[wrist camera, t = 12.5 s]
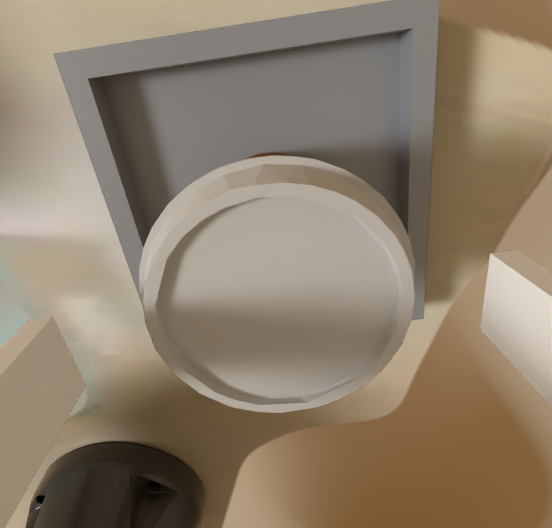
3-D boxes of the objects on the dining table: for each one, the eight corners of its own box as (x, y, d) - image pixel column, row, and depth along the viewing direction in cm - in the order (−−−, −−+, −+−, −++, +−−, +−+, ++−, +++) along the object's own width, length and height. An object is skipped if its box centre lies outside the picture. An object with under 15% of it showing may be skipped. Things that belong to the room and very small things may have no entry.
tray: (409, 299, 27) (423, 318, 25) (168, 332, 27) (159, 354, 25) (418, 3, 19) (440, -7, 17) (77, 57, 19) (53, 53, 17)
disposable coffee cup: (202, 277, 24) (156, 428, 14) (181, 125, 20) (91, 170, 9) (344, 270, 25) (409, 415, 14) (353, 118, 20) (456, 157, 10)
